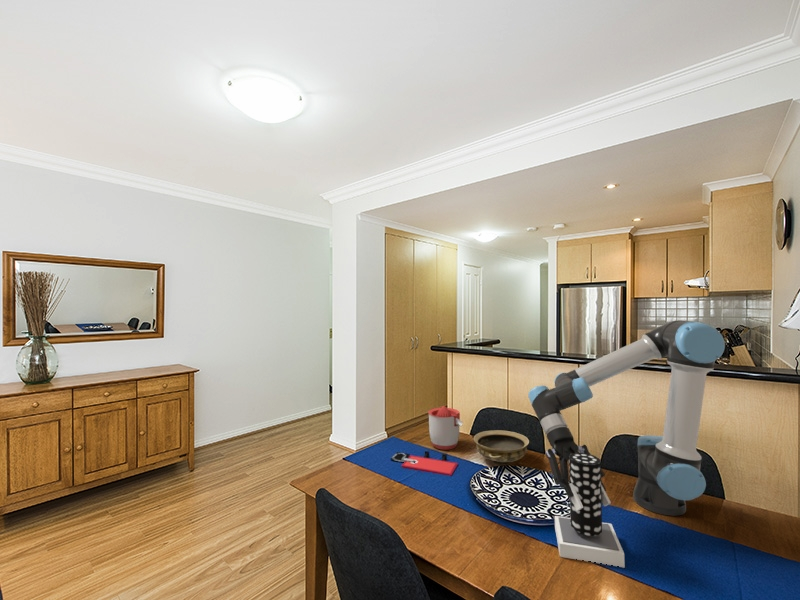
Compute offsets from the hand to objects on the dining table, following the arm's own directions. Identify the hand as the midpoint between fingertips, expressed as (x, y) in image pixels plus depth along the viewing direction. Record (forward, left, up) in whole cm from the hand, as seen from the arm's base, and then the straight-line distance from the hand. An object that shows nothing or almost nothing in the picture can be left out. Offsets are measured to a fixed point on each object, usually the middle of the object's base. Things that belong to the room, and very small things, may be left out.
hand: (593, 506), depth 105 cm
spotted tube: (+2, -3, -8) cm, 9 cm away
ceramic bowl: (+28, -56, -13) cm, 64 cm away
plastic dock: (+2, -3, -13) cm, 14 cm away
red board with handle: (+61, -45, -14) cm, 77 cm away
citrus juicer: (+55, -67, -13) cm, 87 cm away
